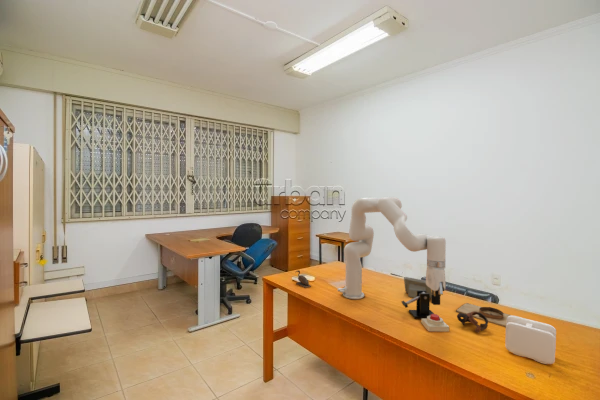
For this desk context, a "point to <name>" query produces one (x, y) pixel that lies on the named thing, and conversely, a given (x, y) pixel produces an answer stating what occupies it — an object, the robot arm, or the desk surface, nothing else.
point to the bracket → (422, 306)
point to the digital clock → (415, 286)
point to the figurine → (302, 281)
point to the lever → (410, 301)
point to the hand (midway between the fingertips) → (435, 304)
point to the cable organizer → (531, 339)
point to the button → (435, 317)
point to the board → (485, 313)
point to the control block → (434, 324)
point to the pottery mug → (473, 320)
